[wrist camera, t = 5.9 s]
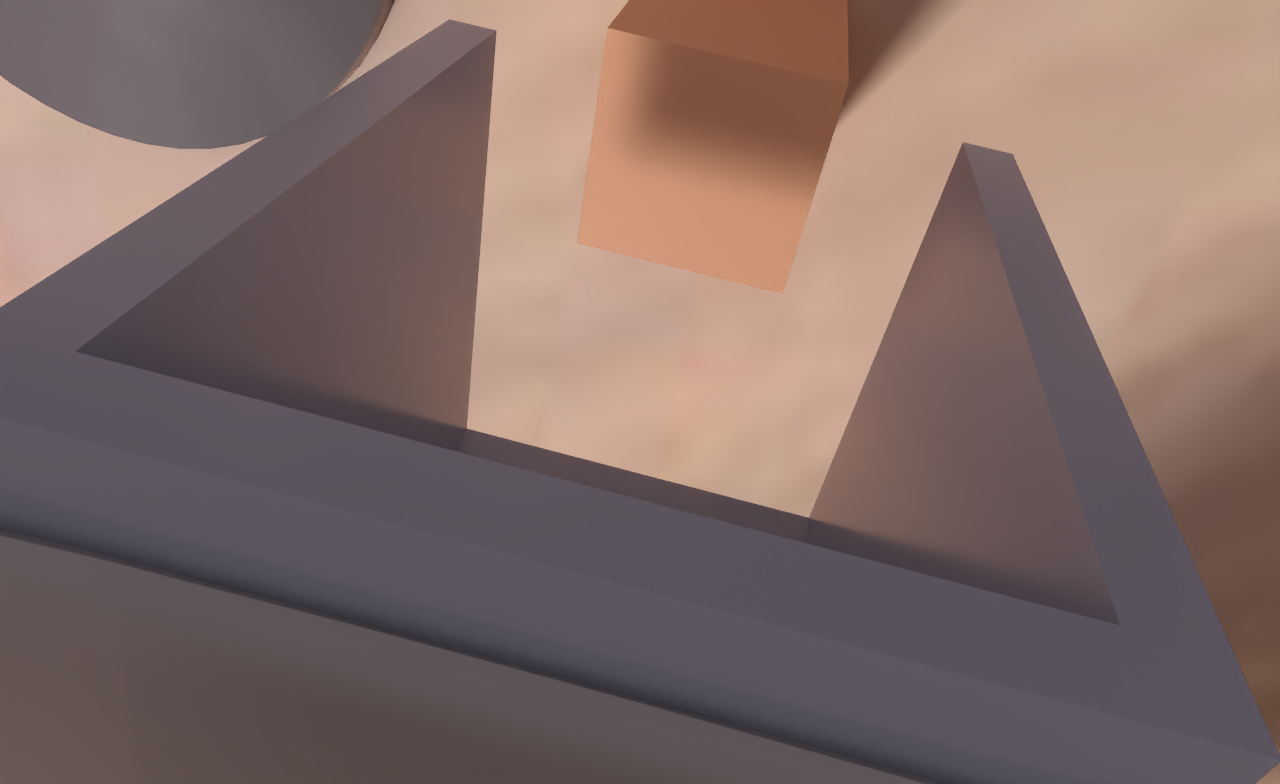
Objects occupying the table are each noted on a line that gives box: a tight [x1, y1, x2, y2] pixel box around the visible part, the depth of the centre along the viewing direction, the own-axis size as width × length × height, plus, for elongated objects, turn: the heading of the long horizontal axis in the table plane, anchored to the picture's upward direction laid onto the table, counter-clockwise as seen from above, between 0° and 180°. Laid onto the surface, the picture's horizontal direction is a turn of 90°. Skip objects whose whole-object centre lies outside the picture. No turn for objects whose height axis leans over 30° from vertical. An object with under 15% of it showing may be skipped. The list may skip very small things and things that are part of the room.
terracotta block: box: [577, 0, 849, 293], centre depth 18 cm, size 4×4×6 cm
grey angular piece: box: [0, 20, 1280, 784], centre depth 10 cm, size 7×7×8 cm
